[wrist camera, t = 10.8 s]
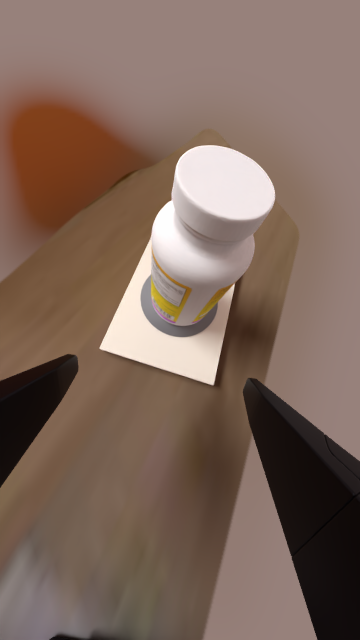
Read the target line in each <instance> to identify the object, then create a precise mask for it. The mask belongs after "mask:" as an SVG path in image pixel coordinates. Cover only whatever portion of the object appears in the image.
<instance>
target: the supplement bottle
mask: <svg viewBox="0 0 360 640" xmlns="http://www.w3.org/2000/svg"><path fill="white" fill-rule="evenodd" d="M274 200H275V191H274V187H273V184H272V182H271V180H270V178H269V177H268V175H267V174H266V172H265V171H264V170H263V169H262V168H261V167H260V166H259V165H258V164H257V163H256V162H254V161H253V160H252V159H250V158H249V157H247V156H245V155H243V154H242V153H240V152H237V151H235V150H233V149H229V148H226V147H221V146H211V145H208V146H199V147H195V148H192V149H190V150H189V151H187V152H186V153H184V154H183V155H182V156H181V158H180V159H179V161H178V163H177V166H176V171H175V178H174V184H173V189H172V200H171V201H170V202H168V203H167V204H166V205H165V206H164V207H163V208H162V209H161V210H160V212H159V213H158V215H157V217H156V219H155V221H154V224H153V229H152V245H151V247H152V258H151V299H152V304H153V306H154V309H155V311H156V312H157V313H158V315H159V316H160V317H161V318H162V319H164V320H165V321H167V322H168V323H171V324H174V325H178V326H188V325H192V324H195V323H197V322H198V321H200V320H201V319H202V318H203V317H204V316H205V315H206V314H207V313H208V312H209V311H210V310H211V309H212V308H213V307H214V306H215V304H216V303H217V302H218V301H219V300H220V299H221V298H222V297H223V296H224V294H225V293H226V292H227V291H228V290H229V289H230V288H231V287H232V286H233V285H234V284H235V283H236V281H237V280H238V279H239V278H240V277H241V276H242V275H243V274H244V273H245V271H246V270H247V268H248V267H249V265H250V263H251V261H252V258H253V255H254V248H255V243H254V237H253V233H255V232H256V231H257V229H258V228H259V227H260V225H261V224H262V222H263V221H264V219H265V218H266V216H267V215H268V214H269V212H270V210H271V209H272V207H273V205H274Z"/></svg>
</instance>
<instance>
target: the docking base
mask: <svg viewBox="0 0 360 640" xmlns="http://www.w3.org/2000/svg"><path fill="white" fill-rule="evenodd" d="M151 245H152V237H151V239H150V241H149V243H148V245H147V247H146V249H145V252H144V254H143V256H142V258H141V260H140V262H139V264H138V267H137V269H136V271H135V273H134V275H133V277H132V280H131V282H130V284H129V286H128V288H127V290H126V292H125V295H124V297H123V299H122V301H121V303H120V305H119V307H118V310H117V312H116V314H115V316H114V318H113V320H112V322H111V325H110V327H109V329H108V331H107V333H106V335H105V338H104V340H103V342H102V344H101V346H100V348H99V349H101V350H103V351H106V352H109V353H112V354H116V355H119V356H122V357H125V358H128V359H131V360H134V361H137V362H141V363H144V364H147V365H150V366H153V367H156V368H159V369H162V370H166V371H169V372H172V373H175V374H178V375H181V376H184V377H187V378H191V379H194V380H197V381H200V382H203V383H206V384H209V385H214V381H215V376H216V372H217V367H218V362H219V357H220V353H221V348H222V343H223V339H224V334H225V329H226V324H227V320H228V315H229V310H230V306H231V301H232V296H233V291H234V287H235V284H234V285H233V286H232V287H231V288H230V289H229V290H228V291H227V292H226V293H225V294H224V296H223V297H222V298H221V299H220V300H219V301H218V302H217V303H216V304H215V306H214V307H213V308H212V309H211V310H210V311H209V312H208V313H207V314H206V315H205V316H204V317H203V318H202V319H201V320H200V321H198V322H197V323H195V324H192V325H188V326H178V325H174V324H171V323H168V322H167V321H165V320H164V319H162V318H161V317H160V316H159V315H158V313H157V312H156V311H155V309H154V306H153V304H152V299H151V258H152V247H151Z"/></svg>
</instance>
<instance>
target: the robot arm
mask: <svg viewBox="0 0 360 640" xmlns="http://www.w3.org/2000/svg"><path fill="white" fill-rule="evenodd" d="M77 372H78V358H77V356H76V355H72V354H67V355H64V356H62V357H59V358H57V359H54V360H52V361H49V362H47V363H44V364H42V365H39V366H37V367H34V368H32V369H29V370H27V371H24V372H22V373H19V374H17V375H14V376H11V377H9V378H6V379H4V380H1V381H0V487H1V486H2V484H3V483H4V482H5V480H6V479H7V477H8V476H9V475H10V473H11V472H12V470H13V469H14V467H15V466H16V465H17V463H18V462H19V460H20V459H21V457H22V456H23V455H24V453H25V452H26V450H27V449H28V448H29V446H30V445H31V443H32V442H33V440H34V439H35V438H36V436H37V435H38V433H39V432H40V430H41V429H42V428H43V426H44V425H45V423H46V422H47V421H48V419H49V418H50V416H51V415H52V413H53V412H54V411H55V409H56V408H57V406H58V405H59V403H60V402H61V400H62V399H63V397H64V395H65V394H66V392H67V390H68V388H69V387H70V385H71V383H72V381H73V380H74V378H75V376H76V374H77ZM243 396H244V401H245V405H246V410H247V415H248V420H249V424H250V427H251V430H252V433H253V437H254V440H255V443H256V446H257V449H258V452H259V456H260V459H261V462H262V465H263V468H264V471H265V475H266V478H267V481H268V484H269V487H270V490H271V493H272V497H273V500H274V503H275V506H276V509H277V513H278V516H279V519H280V522H281V525H282V528H283V532H284V534H285V538H286V541H287V544H288V547H289V551H290V554H291V556H292V561H293V563H294V567H295V570H296V573H297V576H298V580H299V583H300V586H301V589H302V592H303V595H304V598H305V602H306V605H307V608H308V611H309V614H310V617H311V621H312V624H313V627H314V630H315V633H316V636H317V640H360V461H359V460H357V459H356V458H355V457H353V456H352V455H351V454H349V453H348V452H347V451H346V450H344V449H343V448H342V447H340V446H339V445H338V444H337V443H335V442H334V441H333V440H332V439H330V438H329V437H328V436H327V435H324V433H323V432H322V431H320V430H319V429H318V428H317V427H315V426H314V425H313V424H312V423H310V422H309V421H308V420H307V419H305V418H304V417H303V416H302V415H301V414H299V413H298V412H297V411H296V410H294V409H293V408H292V407H291V406H289V405H288V404H287V403H286V402H284V401H283V400H282V399H281V398H279V397H278V396H276V394H274V393H273V392H272V391H271V390H269V389H268V388H267V387H266V386H264V385H263V384H262V383H261V382H259V381H258V380H257V379H254V378H248V379H247V381H246V384H245V386H244V389H243ZM50 640H68V639H63V638H59V637H53V638H51V639H50Z"/></svg>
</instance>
